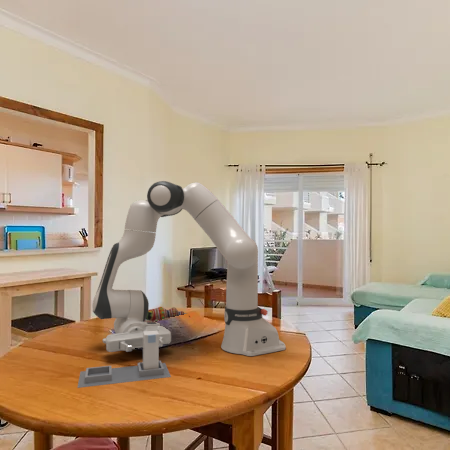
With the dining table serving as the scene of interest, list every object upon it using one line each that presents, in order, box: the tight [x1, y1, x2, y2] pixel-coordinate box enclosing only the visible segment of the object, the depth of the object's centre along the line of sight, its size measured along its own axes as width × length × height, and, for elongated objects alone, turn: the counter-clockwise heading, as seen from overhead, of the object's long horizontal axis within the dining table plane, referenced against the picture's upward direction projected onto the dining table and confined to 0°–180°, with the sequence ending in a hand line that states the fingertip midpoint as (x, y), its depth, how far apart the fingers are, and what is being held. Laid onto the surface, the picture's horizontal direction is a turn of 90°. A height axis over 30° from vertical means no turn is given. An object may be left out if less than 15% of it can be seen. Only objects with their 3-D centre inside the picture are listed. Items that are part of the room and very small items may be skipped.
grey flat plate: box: [77, 360, 172, 389], centre depth 102 cm, size 24×11×2 cm, turn 108°
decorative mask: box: [144, 306, 187, 322], centre depth 161 cm, size 24×8×30 cm
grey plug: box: [142, 330, 160, 370], centre depth 104 cm, size 4×5×11 cm
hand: (145, 346), depth 109 cm, fingers open, 8 cm apart
